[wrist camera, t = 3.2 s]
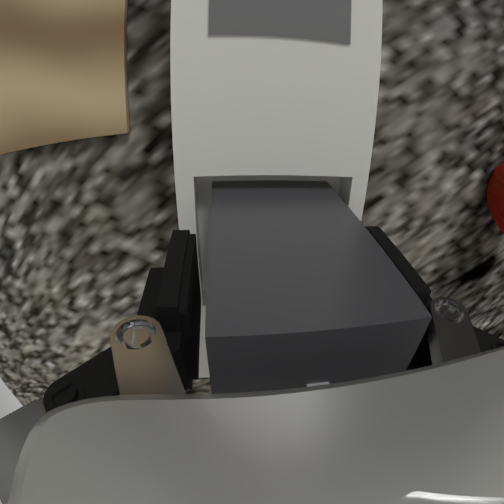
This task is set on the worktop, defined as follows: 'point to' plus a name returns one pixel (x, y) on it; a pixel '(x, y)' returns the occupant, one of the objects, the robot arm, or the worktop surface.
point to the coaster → (62, 71)
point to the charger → (301, 291)
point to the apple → (497, 196)
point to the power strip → (270, 101)
